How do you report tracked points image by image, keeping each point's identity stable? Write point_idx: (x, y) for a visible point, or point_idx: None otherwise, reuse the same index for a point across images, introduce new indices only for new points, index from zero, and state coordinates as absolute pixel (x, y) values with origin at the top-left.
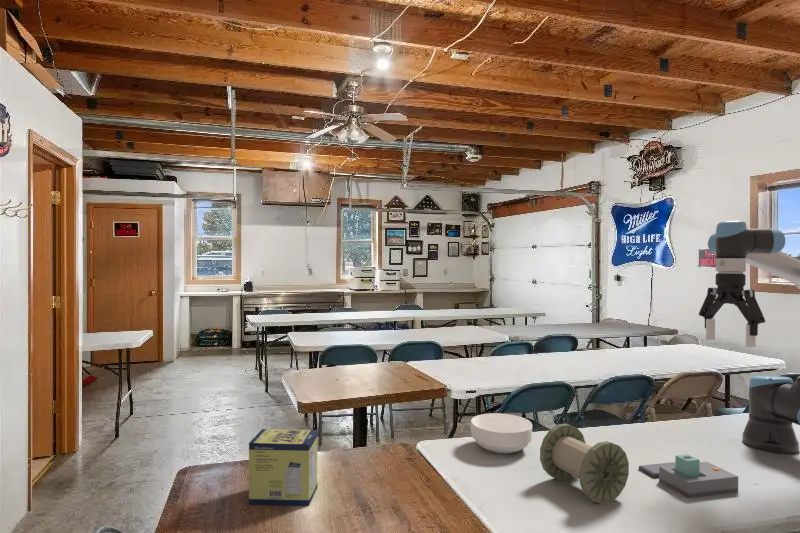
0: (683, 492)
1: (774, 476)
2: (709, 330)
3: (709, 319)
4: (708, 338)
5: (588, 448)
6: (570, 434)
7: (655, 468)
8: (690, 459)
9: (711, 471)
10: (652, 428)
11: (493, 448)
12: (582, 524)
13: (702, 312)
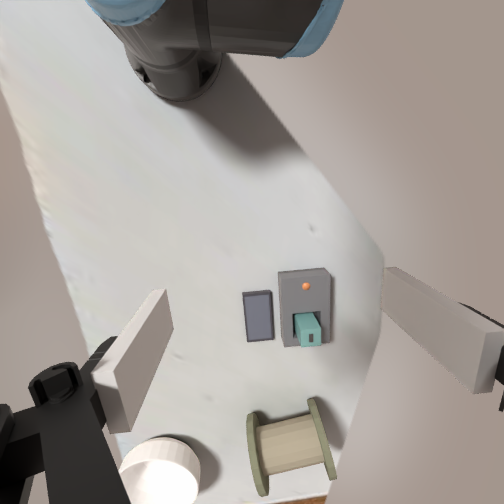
0: None
1: (297, 179)
2: (157, 354)
3: (128, 418)
4: (170, 329)
5: (306, 464)
6: (260, 467)
7: (258, 328)
8: (317, 338)
9: (310, 296)
10: (79, 219)
11: (191, 475)
12: (342, 438)
13: (23, 500)
